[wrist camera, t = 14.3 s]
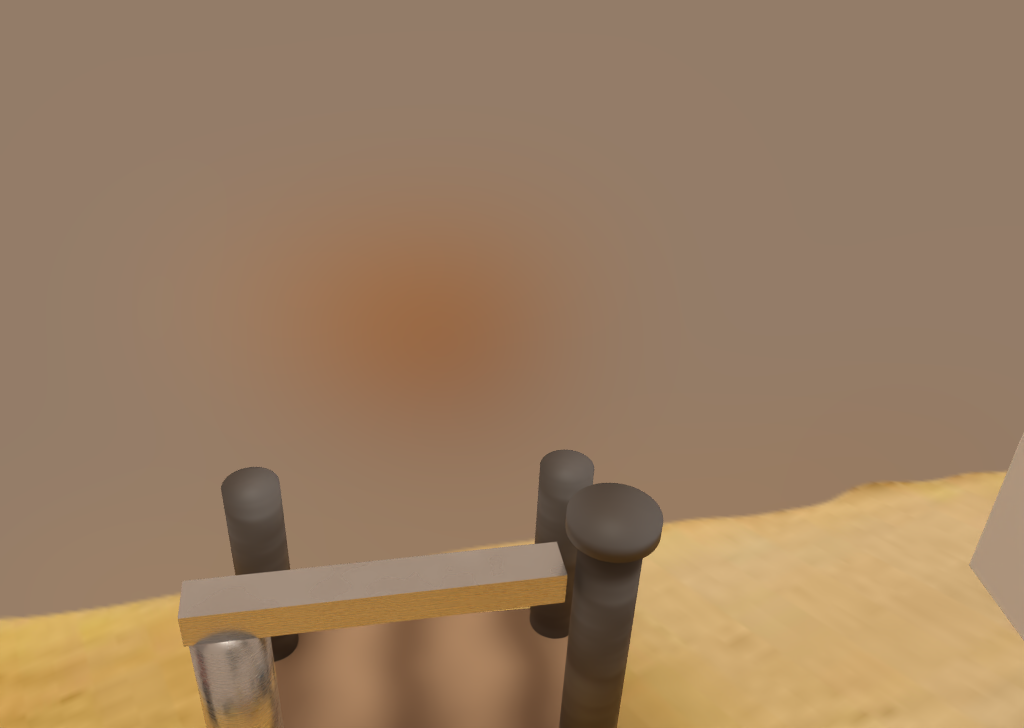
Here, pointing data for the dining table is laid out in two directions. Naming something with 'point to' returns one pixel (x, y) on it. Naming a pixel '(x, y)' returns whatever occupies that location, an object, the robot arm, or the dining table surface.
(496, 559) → the hinged leg
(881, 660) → the dining table surface
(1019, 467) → the robot arm
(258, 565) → the wooden base with rods
